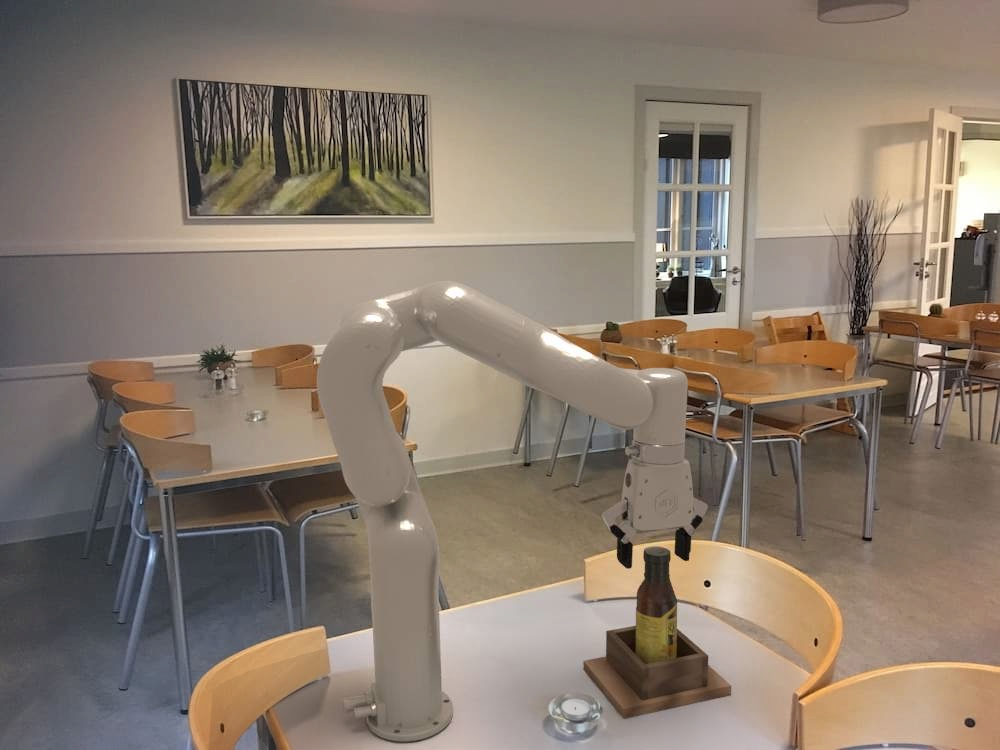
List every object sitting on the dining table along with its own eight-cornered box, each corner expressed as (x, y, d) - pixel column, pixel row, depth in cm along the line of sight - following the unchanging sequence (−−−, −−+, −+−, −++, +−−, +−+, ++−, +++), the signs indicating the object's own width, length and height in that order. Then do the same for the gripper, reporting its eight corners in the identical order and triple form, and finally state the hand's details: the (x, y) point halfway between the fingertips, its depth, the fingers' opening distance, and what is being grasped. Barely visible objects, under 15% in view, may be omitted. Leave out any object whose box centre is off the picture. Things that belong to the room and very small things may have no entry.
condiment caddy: (623, 718, 112) (624, 677, 111) (583, 669, 125) (583, 631, 124) (730, 694, 117) (732, 654, 116) (681, 649, 131) (682, 613, 129)
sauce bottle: (676, 686, 117) (679, 561, 114) (634, 682, 118) (635, 558, 115) (675, 663, 124) (678, 544, 120) (635, 659, 125) (637, 542, 122)
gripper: (617, 462, 109) (613, 578, 112) (723, 454, 114) (717, 564, 117) (594, 449, 116) (591, 558, 119) (695, 442, 121) (690, 546, 124)
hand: (653, 561), depth 118 cm, fingers open, 9 cm apart
